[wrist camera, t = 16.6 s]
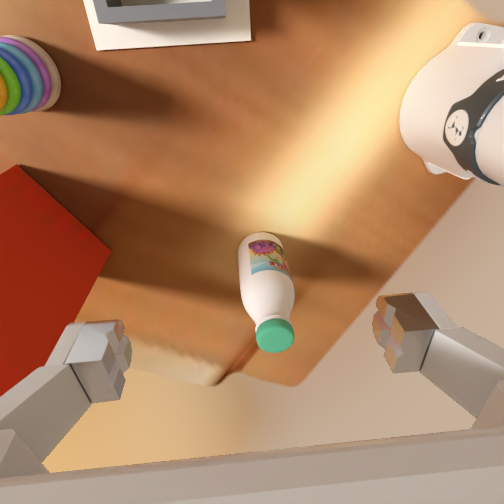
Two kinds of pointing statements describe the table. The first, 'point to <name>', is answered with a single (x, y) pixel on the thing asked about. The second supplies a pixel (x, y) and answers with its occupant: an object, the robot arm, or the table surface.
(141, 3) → the mount collar
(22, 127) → the table surface
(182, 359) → the table surface
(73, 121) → the table surface
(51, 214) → the tall red box
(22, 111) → the stacking toy
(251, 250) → the milk bottle
